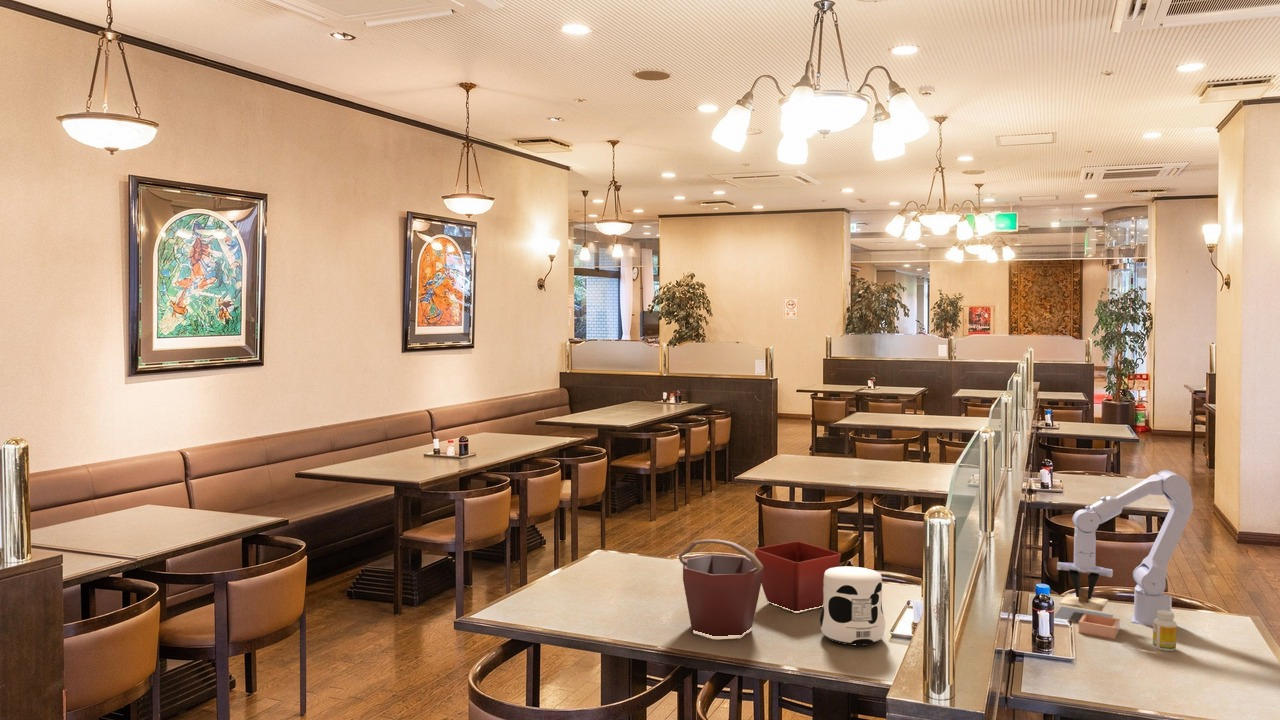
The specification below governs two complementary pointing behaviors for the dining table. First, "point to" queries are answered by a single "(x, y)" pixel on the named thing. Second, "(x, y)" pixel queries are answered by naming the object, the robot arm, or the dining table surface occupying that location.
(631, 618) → the dining table surface
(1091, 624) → the terracotta open box
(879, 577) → the milk container
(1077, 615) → the mat
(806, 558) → the plant pot
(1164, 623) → the supplement bottle
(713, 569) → the bucket
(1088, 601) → the lid
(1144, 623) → the robot arm
